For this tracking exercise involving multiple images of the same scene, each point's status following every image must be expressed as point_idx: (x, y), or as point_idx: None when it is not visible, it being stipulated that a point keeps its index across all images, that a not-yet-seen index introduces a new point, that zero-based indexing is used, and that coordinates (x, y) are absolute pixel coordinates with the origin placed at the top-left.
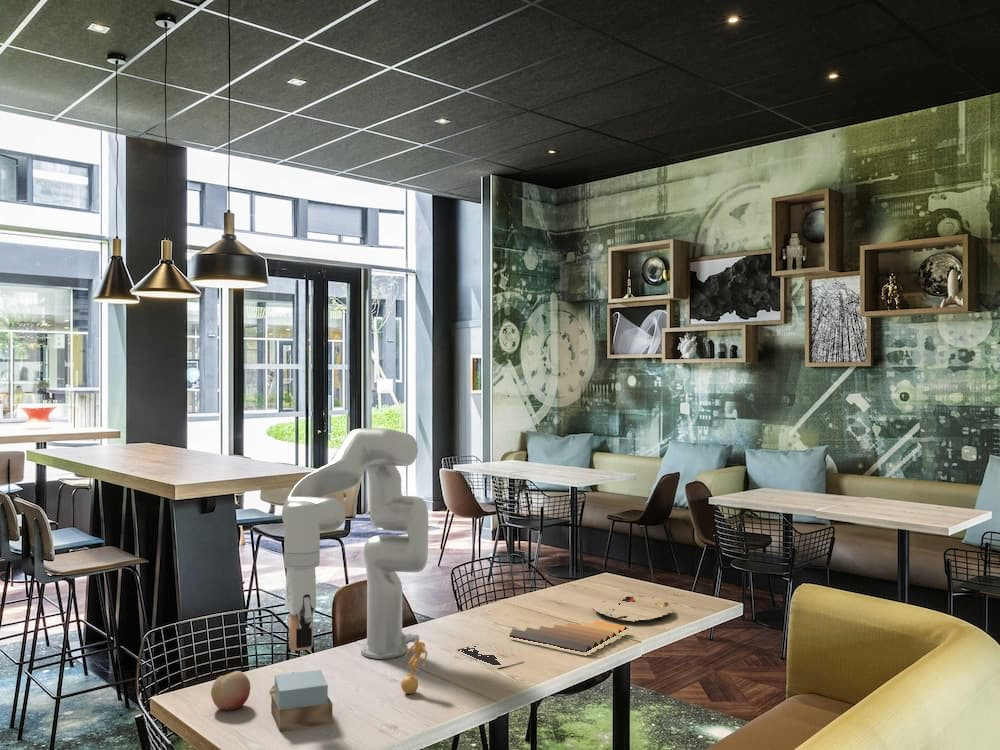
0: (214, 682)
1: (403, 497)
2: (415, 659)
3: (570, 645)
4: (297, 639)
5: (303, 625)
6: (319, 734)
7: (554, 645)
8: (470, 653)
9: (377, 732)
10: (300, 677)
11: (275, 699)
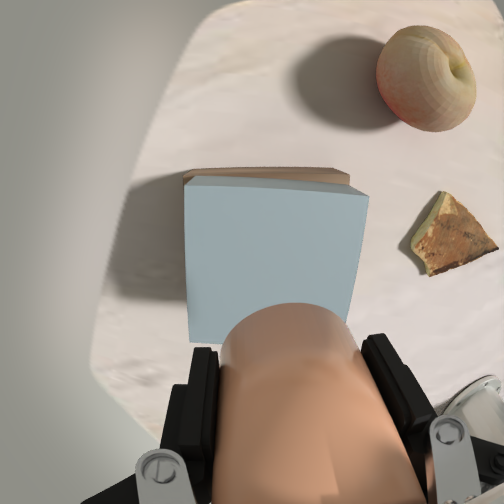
0: (440, 30)
1: None
2: None
3: None
4: (188, 386)
5: (112, 491)
6: (145, 257)
7: None
8: None
9: (128, 355)
10: (301, 279)
11: (295, 177)
